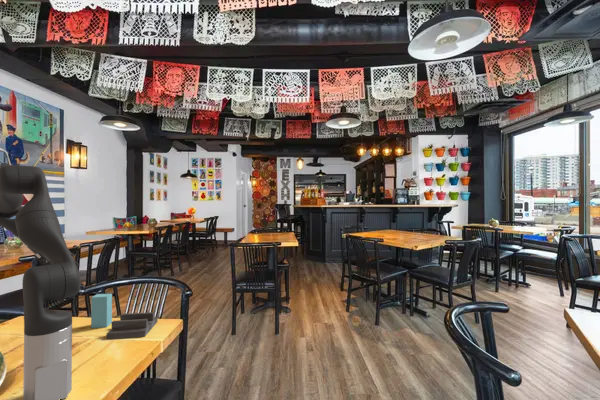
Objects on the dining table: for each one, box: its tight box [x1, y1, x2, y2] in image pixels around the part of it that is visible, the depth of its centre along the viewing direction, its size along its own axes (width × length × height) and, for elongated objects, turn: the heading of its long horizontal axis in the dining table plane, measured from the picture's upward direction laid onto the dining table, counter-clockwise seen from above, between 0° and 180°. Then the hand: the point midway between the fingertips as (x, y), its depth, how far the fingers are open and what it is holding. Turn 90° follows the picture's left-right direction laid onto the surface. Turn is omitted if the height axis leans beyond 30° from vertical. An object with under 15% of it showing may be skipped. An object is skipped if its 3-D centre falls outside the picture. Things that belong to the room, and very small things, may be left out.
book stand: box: [106, 311, 158, 340], centre depth 110 cm, size 13×13×5 cm
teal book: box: [90, 293, 113, 329], centre depth 114 cm, size 4×6×12 cm
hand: (69, 268), depth 113 cm, fingers open, 8 cm apart
